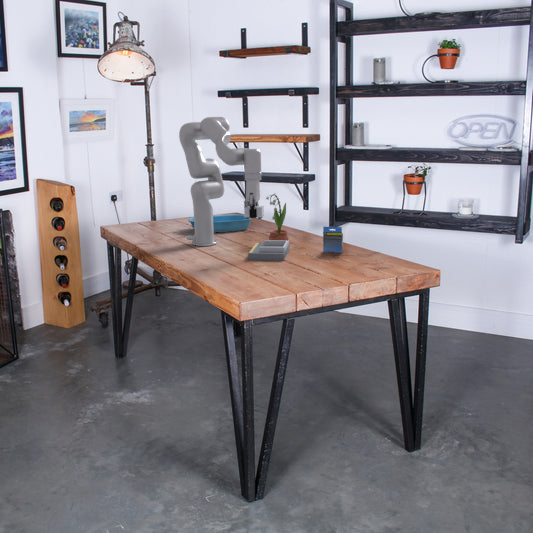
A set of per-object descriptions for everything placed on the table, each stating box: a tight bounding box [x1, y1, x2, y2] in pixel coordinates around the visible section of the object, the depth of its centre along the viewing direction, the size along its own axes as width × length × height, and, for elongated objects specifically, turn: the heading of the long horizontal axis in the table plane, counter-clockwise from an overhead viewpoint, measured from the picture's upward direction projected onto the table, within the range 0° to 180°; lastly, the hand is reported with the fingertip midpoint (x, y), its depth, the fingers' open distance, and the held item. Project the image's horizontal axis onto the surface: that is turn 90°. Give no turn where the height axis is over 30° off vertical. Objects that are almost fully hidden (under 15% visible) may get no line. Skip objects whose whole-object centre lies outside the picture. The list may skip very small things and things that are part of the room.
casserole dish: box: [187, 214, 252, 234], centre depth 361 cm, size 37×22×7 cm, turn 112°
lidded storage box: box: [243, 199, 265, 220], centre depth 292 cm, size 8×5×8 cm, turn 81°
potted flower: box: [265, 193, 289, 241], centre depth 321 cm, size 12×10×25 cm
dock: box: [247, 239, 290, 261], centre depth 296 cm, size 16×24×5 cm, turn 172°
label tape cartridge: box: [322, 226, 344, 254], centre depth 298 cm, size 9×4×12 cm, turn 74°
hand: (254, 216), depth 292 cm, fingers closed on lidded storage box, 5 cm apart
